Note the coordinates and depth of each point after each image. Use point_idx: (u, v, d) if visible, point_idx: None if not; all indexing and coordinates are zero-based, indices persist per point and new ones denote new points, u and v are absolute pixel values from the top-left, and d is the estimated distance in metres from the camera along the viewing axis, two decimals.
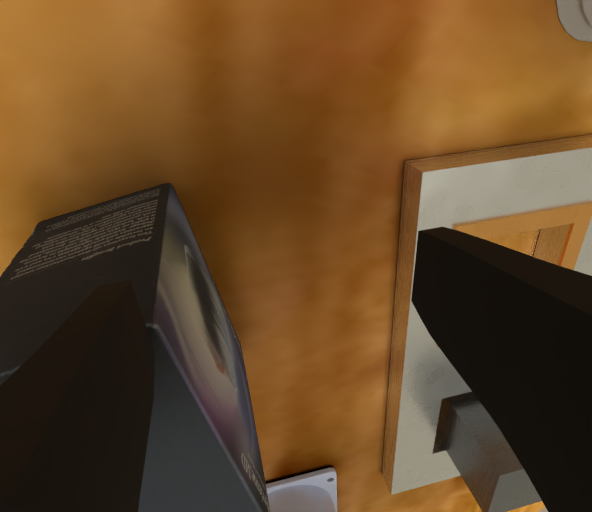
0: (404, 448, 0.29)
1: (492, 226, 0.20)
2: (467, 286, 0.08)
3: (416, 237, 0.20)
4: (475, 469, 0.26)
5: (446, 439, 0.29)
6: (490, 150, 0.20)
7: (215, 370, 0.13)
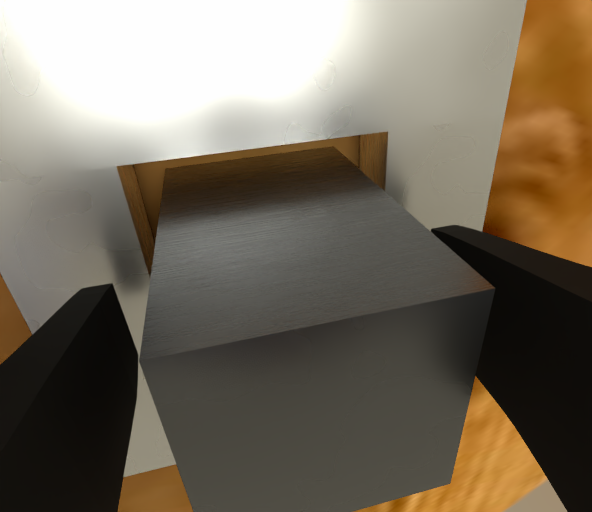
0: None
1: None
2: None
3: None
4: None
5: None
6: None
7: None
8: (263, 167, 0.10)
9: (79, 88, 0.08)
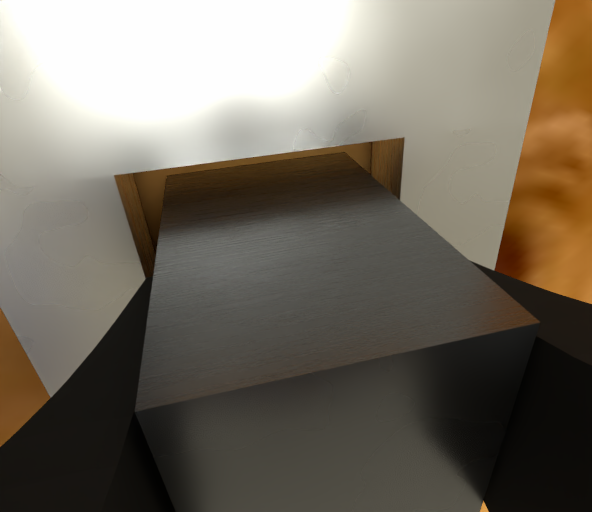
0: (67, 366, 0.10)
1: None
2: None
3: None
4: None
5: None
6: None
7: None
8: (271, 175, 0.09)
9: (73, 92, 0.07)
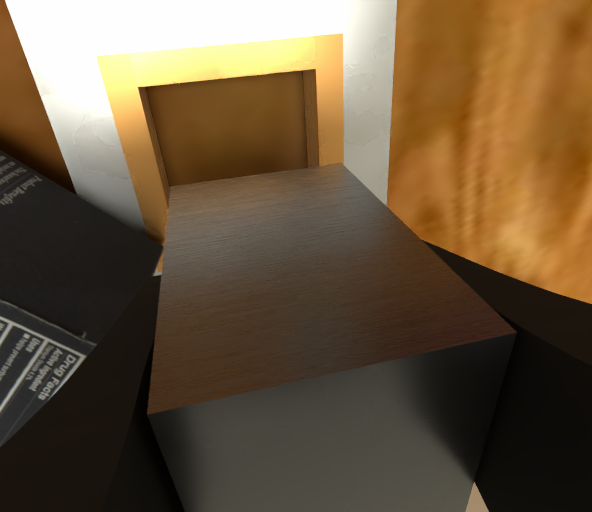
0: None
1: (164, 61, 0.13)
2: None
3: (33, 73, 0.13)
4: None
5: None
6: None
7: None
8: (270, 186, 0.10)
9: None
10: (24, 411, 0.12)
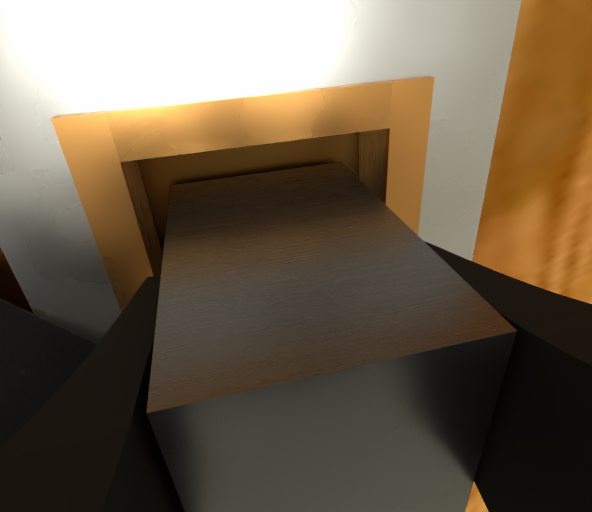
0: None
1: (161, 123, 0.08)
2: None
3: None
4: None
5: None
6: None
7: None
8: (270, 185, 0.10)
9: None
10: None
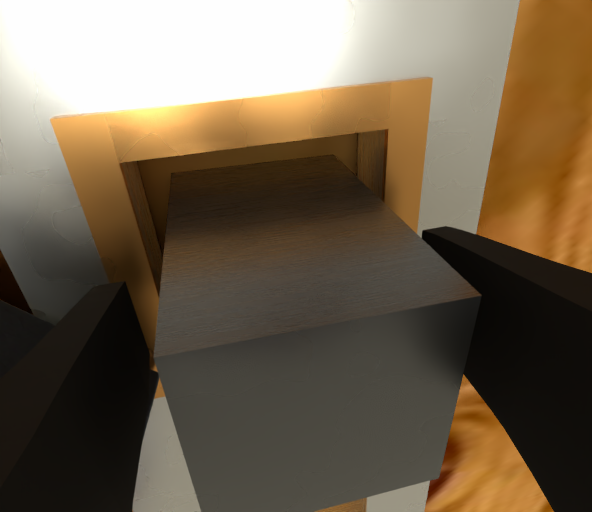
0: None
1: (160, 124, 0.08)
2: (471, 284, 0.08)
3: None
4: None
5: None
6: None
7: None
8: (265, 174, 0.10)
9: None
10: None
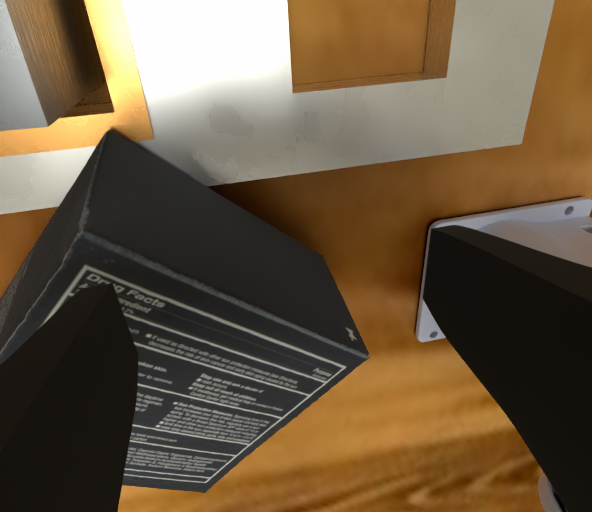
0: (404, 143, 0.16)
1: None
2: (481, 283, 0.08)
3: None
4: None
5: None
6: None
7: None
8: None
9: (250, 104, 0.14)
10: (184, 317, 0.11)
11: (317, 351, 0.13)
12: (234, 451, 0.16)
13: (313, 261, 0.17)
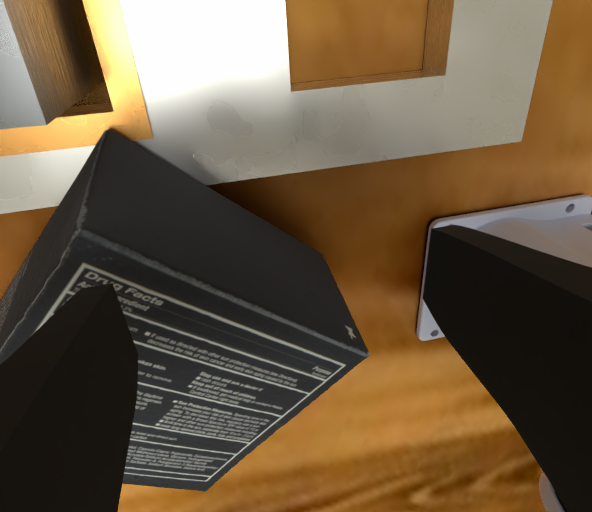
0: (403, 141, 0.16)
1: None
2: (481, 283, 0.08)
3: None
4: None
5: None
6: None
7: None
8: None
9: (249, 103, 0.14)
10: (183, 315, 0.11)
11: (316, 349, 0.13)
12: (234, 450, 0.16)
13: (313, 259, 0.17)
